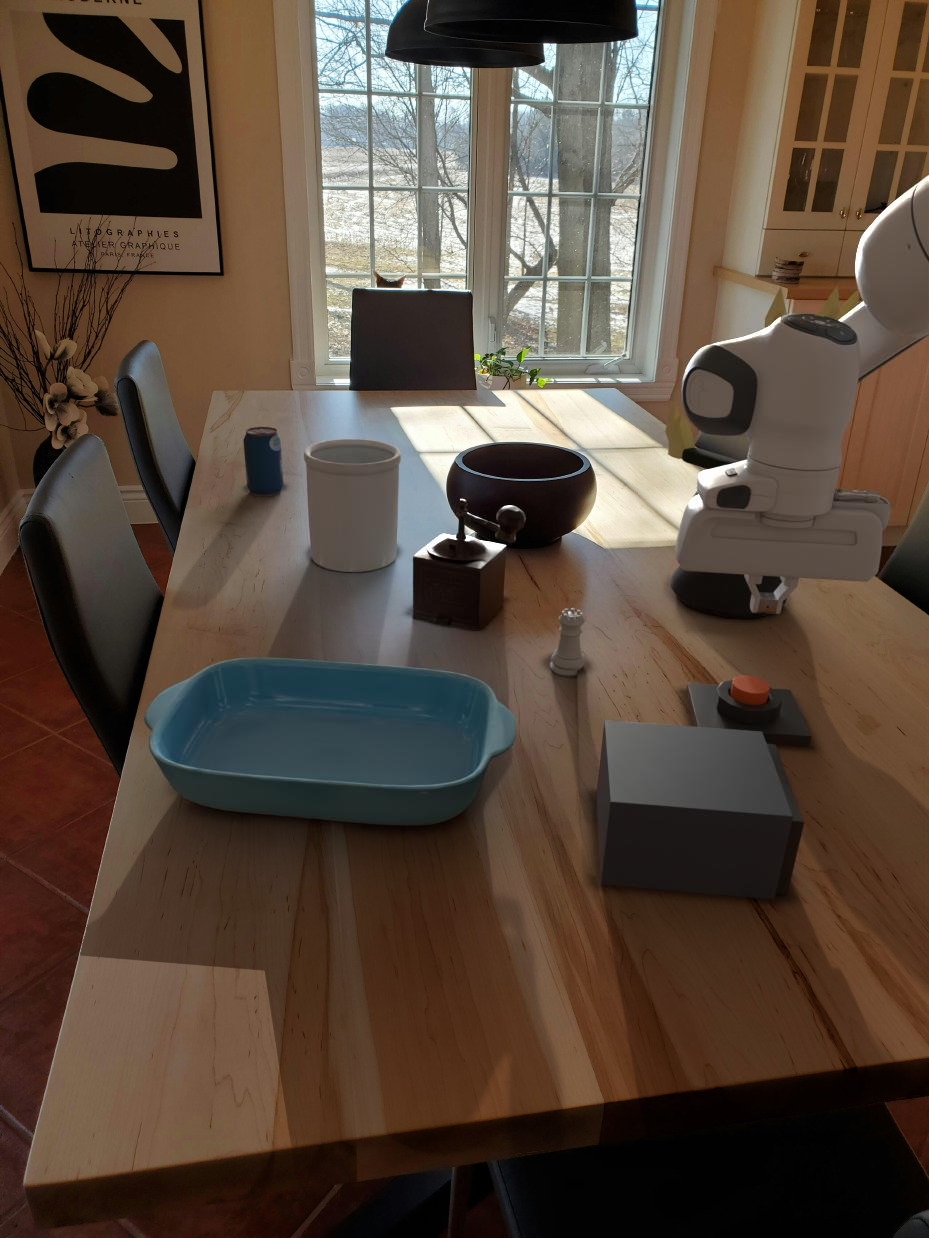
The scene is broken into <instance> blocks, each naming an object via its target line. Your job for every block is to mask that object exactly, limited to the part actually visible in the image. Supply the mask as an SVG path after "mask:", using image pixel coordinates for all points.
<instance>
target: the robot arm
mask: <svg viewBox="0 0 929 1238" xmlns="http://www.w3.org/2000/svg"><path fill="white" fill-rule="evenodd" d="M854 271H855V272H854V273H855V274H854V275H855V282H856V285H857V290H858V289H859V296H860V298H861V300H862V301H861V302H860V303H858V306H856V307H855V308H854V309H853V310H851V311H850V312H849V313H847V314H846V315H845V316H844V317H842V318H841V319H840V320H836V319H833V318H830V317H827V316H819V315H817V314H815V313H807V312H792V313H787V315H784V316H782V317H780V318H779V319H777V320H776V321H775V322H774V323H773V324H772V325H771V326H769V327H767V328H765V327H764V328H763V329H761V330H759V331H757V332H756V331H755V332H754V333H751V334H748V335H745V336H741V337H738V338H733V339H728V340H723V341H718V342H715V343H712V344H707V345H705V346H703V347H701V348H700V349H698V350H697V351H696V353H694V355H693V356H692V357H691V359H690V361H689V362H688V364H687V366H686V368H685V371H684V373H683V377H682V380H681V381H682V382H681V402H682V406H683V410H684V413H685V415H686V417H687V419H688V420H689V422H691V424H692V425H693V427H694V428H696V429H697V430H698V431H699V432H701V433H703V434H706V435H710V436H711V435H712V436H717V437H734V436H735V437H736V436H738V437H742V438H745V439H746V440H747V441H748V443H749V445H748V450H747V456H746V459H744V460H739V461H740V462H736V463H733V464H729V465H725V466H720V467H716V468H712V469H705V470H702V471H700V472H699V473H698V475H697V478H696V492H698V495H697V496H695V497H694V498H693V497H692V498H691V499H690V500H689V502H688V503H687V505H686V507H685V508H684V511H683V514H682V518H681V519H680V520H681V522H680V524H679V528H678V532H677V536H676V541H675V548H674V555H675V560H676V561H677V563H678V566H679V565H680V566H681V567H682V568H683V570H685V571H697V572H714V573H730V574H744V577H745V579H746V581H747V584H748V586H749V588H750V591H751V593H752V595H751V601H750V609H751V611H752V612H754V613H770V614H772V615H780V614H781V613H782V609H783V606H782V604H783V600H785V599H786V598H787V599H788V597H790V595H791V594H792V593H793V592H795V590H796V588H798V585H799V580H800V579H813V580H815V579H816V580H828V581H829V580H831V581H846V582H860V583H861V582H863V583H866V582H867V583H868V582H869V581H870V580H872V579H873V578H874V577H875V576H876V575H877V574H878V572H879V568H880V563H881V556H882V547H883V531H885V530H886V528H887V526H888V525H889V520H890V516H891V512H892V506H891V503H890V501H889V499H888V498H886V497H885V496H882V495H880V492H878V491H874V490H864V491H860V490H853V489H844V488H843V489H842V488H837V485H838V480H839V475H840V471H841V466H842V463H843V461H842V460H843V454H842V441H843V437H844V433H845V432H846V429H847V428H848V426H849V424H850V422H851V419H852V415H853V412H854V407H855V406H854V405H855V401H856V395H857V389H858V384H859V383H861V382H862V381H863V380H865V379H866V378H867V377H868V376H871V375H872V374H873V373H874V372H876V371H878V370H879V369H880V368H882V367H884V366H885V365H887V364H888V363H890V362H891V361H893V360H894V359H896V358H897V357H899V356H901V354H903V353H905V352H907V351H908V350H910V349H911V348H912V347H914V346H915V345H917V344H918V343H920V342H921V341H922V340H924V339H925V338H927V337H928V336H929V174H928V175H926V176H925V177H924V178H922V179H921V180H920V181H918V182H917V183H916V184H914V185H913V186H912V187H910V188H909V189H908V190H907V191H905V192H904V193H902V195H901V196H899V197H898V198H897V199H895V200H894V201H893V202H892V203H891V204H889V206H888V207H886V208H885V209H884V210H883V211H882V212H881V213H880V214H879V215H878V217H876V219H875V220H874V221H873V222H872V223H871V225H869V227H868V228H867V229H866V230H865V231H864V232H863V234H862V235H861V238H860V240H859V243H858V247H857V250H856V256H855V263H854ZM763 576H779V577H780V578H781V580H782V583H781V584H780V585H779V587H778V588H777V589H776V590H775V591H774V593H763V592H759V591H758V589H757V587H756V585H755V584H761V582H762V577H763Z"/></svg>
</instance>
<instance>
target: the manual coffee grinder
mask: <svg viewBox="0 0 929 1238" xmlns="http://www.w3.org/2000/svg"><path fill="white" fill-rule="evenodd" d="M457 506H458V508H457V510H456V515H457V516H458V526H457V527H458V529H457V533H456V534H454V535H453V534H448V533H447V534H446V533H441V534H440V535H437V537H435V538H434V539H433V540H432V541H430V542H429V543H427V544H426V545H425V546H424V547H422V548H421V549H420V550H418V552H416V553H415V554H414V555H413V556H412V619H413V620H417V621H422V622H425V623H431V624H434V625H438V626H443V627H448V628H449V627H450V628H457V629H462V630H463V629H464V630H473V631H481V630H482V629H484V628H485V627H486V626H488V625H489V624H490V622H491V621H492V620H494V618H495V617H496V616H497V615H498V614H499V613H500V611H501V609H502V606H503V605H504V603H505V578H506V577H505V576H506V560H507V559H506V558H507V545H510V544H515V543H516V540H517V537H516V534H517V532H518V531H519V530H521V529H522V528H524V527H525V523H526V519H527V518H526V514H525V512H524V511H523V510H522V509H520V508H519V507H517V506H515V505H504V506H503V507H500V509H499V510H498V511H497V513H496V521H497V523H498V524H496V523H494V522H492V521H488V520H486V519H483V518H481V517H479V516H475V515H473V514H471V513H469V512H468V509H467V507H468V502H467V500H466V499H464V498H460V499H459V500H458V501H457ZM466 520H468V521H469V522H471V523H473V524H476V525H478V526H482V527H484V528H487V529H489V530H492V531H494V532H495V540H498V541H499V542H500V543H497V542H492V541H486V540H480V539H478V538H476V537H473V536H471V535H468V534H466V531H465V530H466ZM506 544H507V545H506Z"/></svg>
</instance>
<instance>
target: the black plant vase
mask: <svg viewBox="0 0 929 1238" xmlns="http://www.w3.org/2000/svg"><path fill="white" fill-rule="evenodd" d="M859 301H860V292H859V289H858V288H857V290H856V291H855V292H853V294H851V296H850V297H848V298H847V300H846V301H844V303H843V304H842V305H841V306H840V295H839V288H838V286H836V287H835V288H834V289H833V291H832V292H831V293H830V295H829V296H828V297H827V299H826V301H825V302H824V304H823V305H822V307H821V308H820V309H819V310H818V312H817V314H816V315H819V316H827V317H830V318H833V319H836V320H840V319H841V318H842V317H844V316H845V315H846V314H847V313H849V312H850V311H851V310H853V309H854V308H855V307H856V306H858V305H859ZM787 314H788V312H787V308H786V303H785V298H784V294H783V289H782V286H780V287H779V289H778V291H777V293H776V294H775V297H774V298H773V301H772V303H771V305H770V307H769V309H768V311H767V313H766V315H765V317H764V329H765V328H767V327H769V326H771V325H772V324H773V323H774V322H775V321H776V320H777V319H779V318H780V317H782V316H784V315H787ZM692 430H693V429H692V426H691V424H690V422H689V421H688V420H687V418H686V417H685V415H684V413H682V412H681V410H680V409H679V407H678V405H677V402H676V401H675V400H674V399H672V400H671V403H670V408H669V412H668V417H667V421H666V426H665V431H664V432H665V435H666V438H667V441H668V451H667V455H668V456H670V457H672V458H674V459H678V460H682V461H683V462H685V463H687V464H690V465H693V466H695V467H699V468H702V469H705V470H708V469H712V468H716V467H720V466H725V465H729V464H733V463H736V462H740V461H741V460H737V459H734V458H732V457H728V456H725V455H722V454H718V453H715V452H712V451H709V450H705V449H702V448H699V447H696V446H695V445H696V444H695V441H694V435H693V431H692ZM697 495H698V492H697V491H696V492H695V493H694V494H693V496H692V498H694V497H695V496H697ZM781 583H782V580H781V578H780V577H779V576H763V577H762V582H761V584H755V585H756V587H757V589H758V591H759V592H763V593H774V591H775V590H776V589H777V588H778V587H779V585H780V584H781ZM669 585H670V588H671V590H672V592H673V593H674V595H675V596H676V598H677V599H678V600H680V601H682V602H683V604H685V605H686V606H689V607H691V608H693V609H695V610H697V611H699V612H702V613H707V614H710V615H713V616H718V617H726V618H731V619H752V618H761V617H765V616H768V615H770V614H771V613H754V612H752V611H751V609H750V601H751V595H752V593H751V591H750V588H749V586H748V584H747V581H746V579H745V577H744V574H730V573H714V572H697V571H685V570H683V568H682V567H681V566H680V565H679V564H678V566H677V567H676V568H675V570H674V571H673V573H672V575H671V578H670V582H669ZM787 599H788V597H787V598H786V599H785V600H783V604H782V607H783V606H784V605H785V604H786V603H787V601H788V600H787Z"/></svg>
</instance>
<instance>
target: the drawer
mask: <svg viewBox="0 0 929 1238" xmlns="http://www.w3.org/2000/svg"><path fill="white" fill-rule="evenodd" d="M767 746H768V749H769V752H770V754H771V757H772V760H773V763H774V765H775V768H776V771H777V774H778V776H779V779H780V782H781V785H782V788H783V790H784V793H785V796H786V799H787V801H788V804H789V807H790V810H791V812H792V815H793V819H792V824H791V828H790V833H789V837H788V841H787V846H786V850H785V854H784V859H783V863H782V868H781V872H780V876H779V881H778V885H777V889H776V894H775V895H781V896H787V895H788V893H789V890H790V884H791V881H792V876H793V873H794V868H795V864H796V859H797V856H798V852H799V847H800V842H801V839H802V835H803V831H804V827H805V820H804V817H803V815H802V812H801V809H800V807H799V804H798V801H797V799H796V796H795V793H794V791H793V787H792V785H791V783H790V780H789V777H788V775H787V772H786V769H785V767H784V764H783V761H782V759H781V756H780V754H779V751H778V748H777V745H775V744H767Z"/></svg>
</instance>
